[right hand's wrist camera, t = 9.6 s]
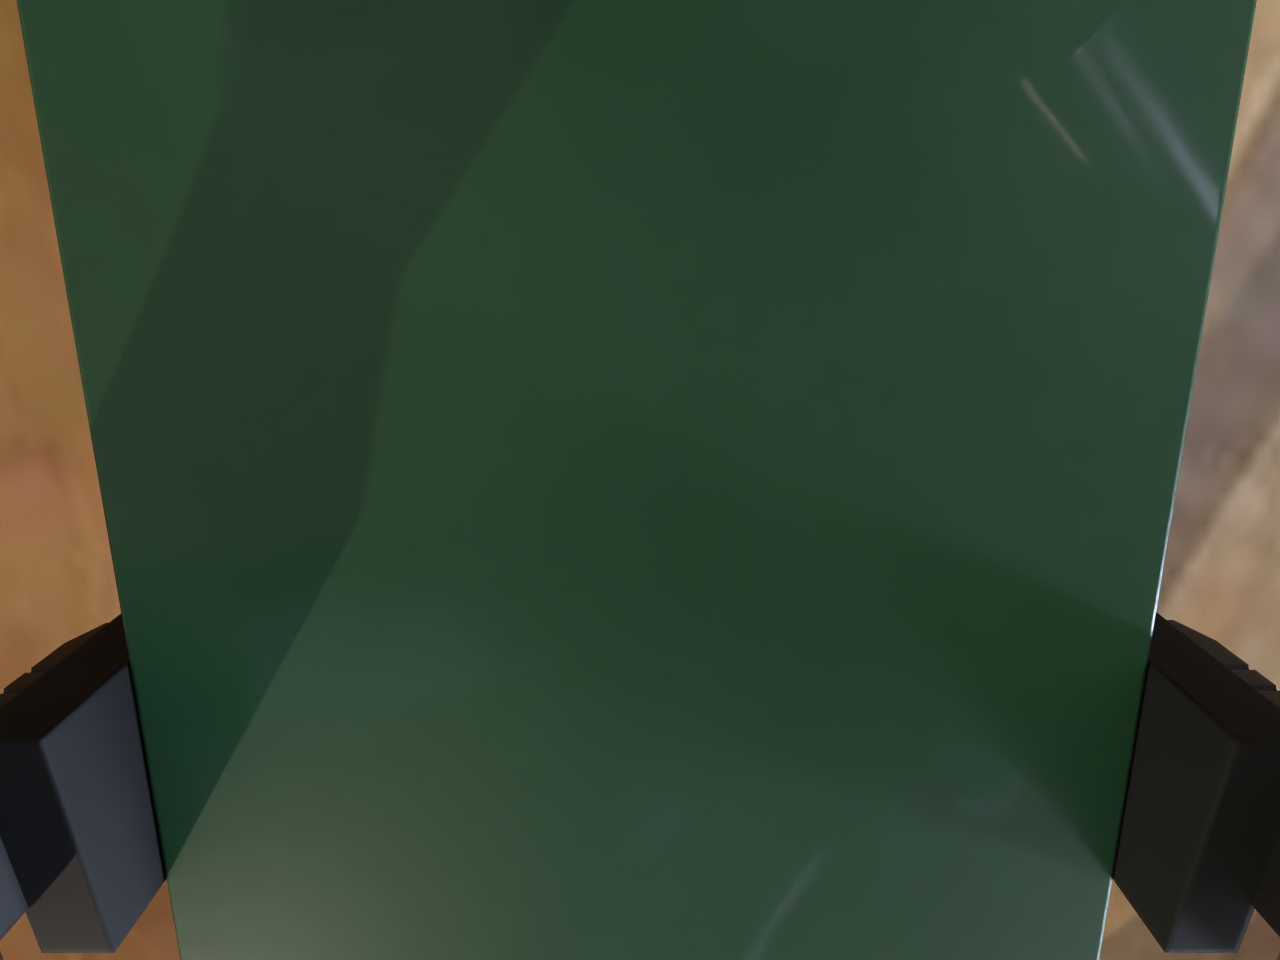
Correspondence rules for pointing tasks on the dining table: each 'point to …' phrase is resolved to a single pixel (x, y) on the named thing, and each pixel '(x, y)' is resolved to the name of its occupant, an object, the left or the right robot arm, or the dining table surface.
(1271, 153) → the dining table surface
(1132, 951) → the dining table surface
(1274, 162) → the dining table surface
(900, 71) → the cabinet
